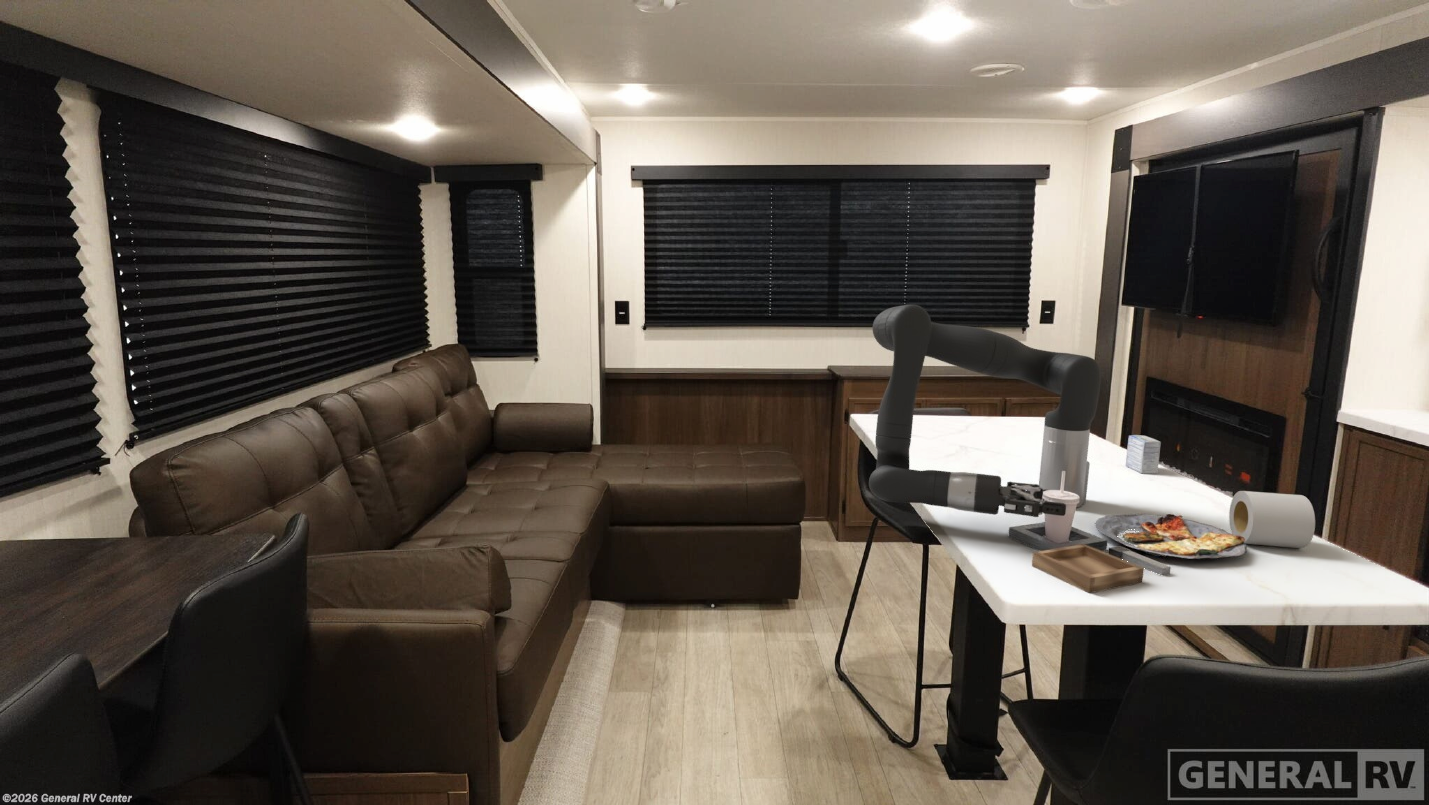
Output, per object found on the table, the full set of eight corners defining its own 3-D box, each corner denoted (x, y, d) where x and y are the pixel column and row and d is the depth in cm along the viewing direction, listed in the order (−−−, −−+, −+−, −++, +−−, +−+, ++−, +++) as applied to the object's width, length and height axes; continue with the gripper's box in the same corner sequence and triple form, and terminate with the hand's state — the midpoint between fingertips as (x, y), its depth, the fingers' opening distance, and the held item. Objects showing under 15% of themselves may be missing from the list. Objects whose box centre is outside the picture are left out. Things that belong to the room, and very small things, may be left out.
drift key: (1108, 555, 139) (1108, 547, 139) (1119, 553, 140) (1120, 546, 140) (1159, 576, 129) (1160, 568, 129) (1171, 574, 130) (1172, 566, 130)
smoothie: (1077, 542, 145) (1084, 471, 143) (1072, 552, 140) (1079, 478, 137) (1041, 535, 148) (1047, 465, 146) (1035, 545, 143) (1041, 473, 141)
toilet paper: (1283, 538, 150) (1291, 489, 148) (1310, 556, 140) (1318, 504, 138) (1226, 533, 152) (1233, 484, 150) (1248, 550, 142) (1256, 499, 141)
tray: (1082, 557, 137) (1084, 544, 137) (1142, 582, 126) (1143, 568, 126) (1031, 566, 133) (1033, 552, 132) (1088, 592, 122) (1090, 578, 121)
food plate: (1179, 520, 159) (1180, 504, 158) (1277, 563, 136) (1280, 545, 136) (1070, 528, 155) (1072, 511, 154) (1154, 574, 132) (1156, 555, 132)
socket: (1055, 530, 152) (1056, 520, 151) (1106, 550, 141) (1107, 540, 140) (1008, 537, 147) (1009, 527, 147) (1057, 558, 136) (1058, 548, 136)
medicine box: (1157, 474, 197) (1161, 441, 195) (1140, 474, 197) (1144, 441, 195) (1141, 466, 204) (1145, 435, 203) (1124, 466, 205) (1128, 434, 203)
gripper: (972, 483, 141) (1068, 494, 135) (977, 465, 154) (1065, 475, 148) (969, 521, 143) (1064, 534, 136) (975, 501, 156) (1061, 512, 149)
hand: (1064, 503), depth 142 cm, fingers open, 8 cm apart
